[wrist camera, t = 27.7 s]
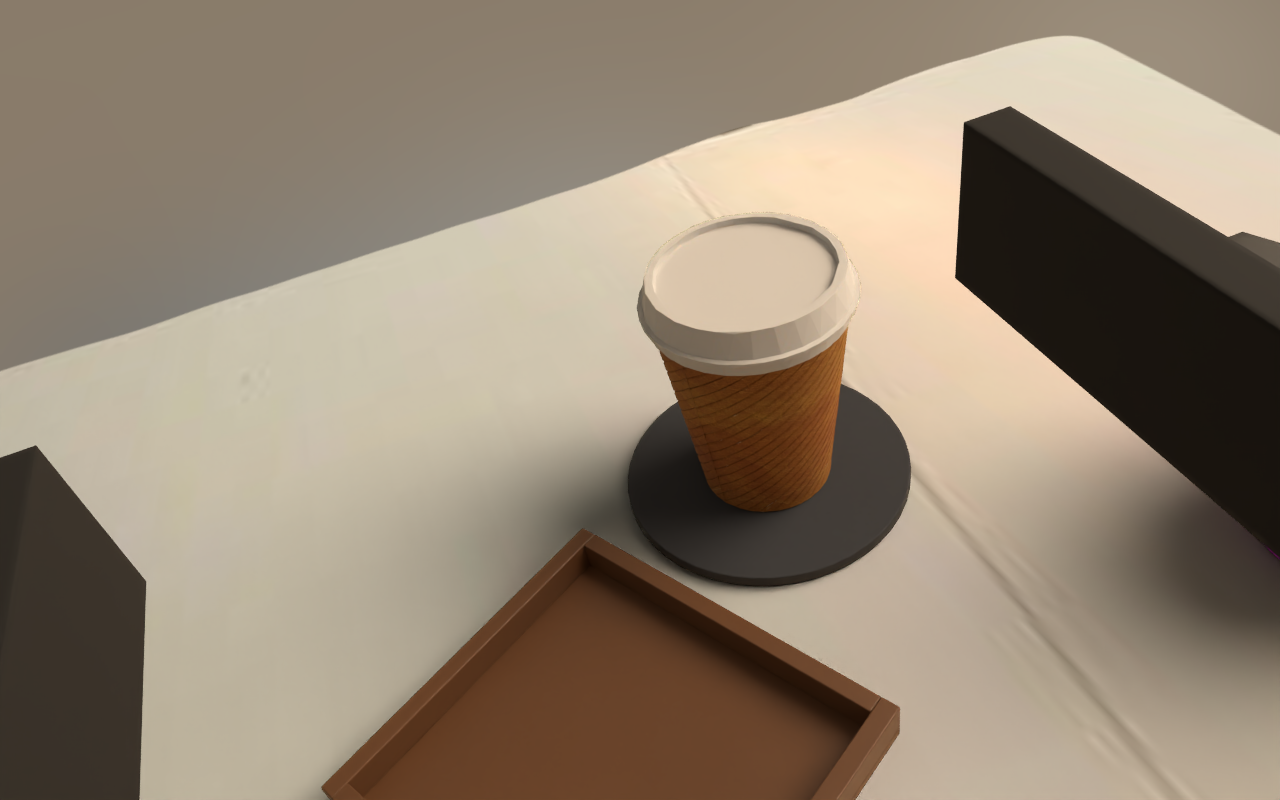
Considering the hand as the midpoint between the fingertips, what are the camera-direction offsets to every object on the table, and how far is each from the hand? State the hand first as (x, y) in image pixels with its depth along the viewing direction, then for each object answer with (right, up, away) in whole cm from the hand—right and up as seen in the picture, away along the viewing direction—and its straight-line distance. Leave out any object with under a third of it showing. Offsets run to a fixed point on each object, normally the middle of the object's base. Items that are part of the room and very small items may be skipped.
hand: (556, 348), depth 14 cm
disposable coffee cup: (+8, -4, +36) cm, 37 cm away
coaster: (+8, -4, +36) cm, 37 cm away
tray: (0, -16, +26) cm, 30 cm away
